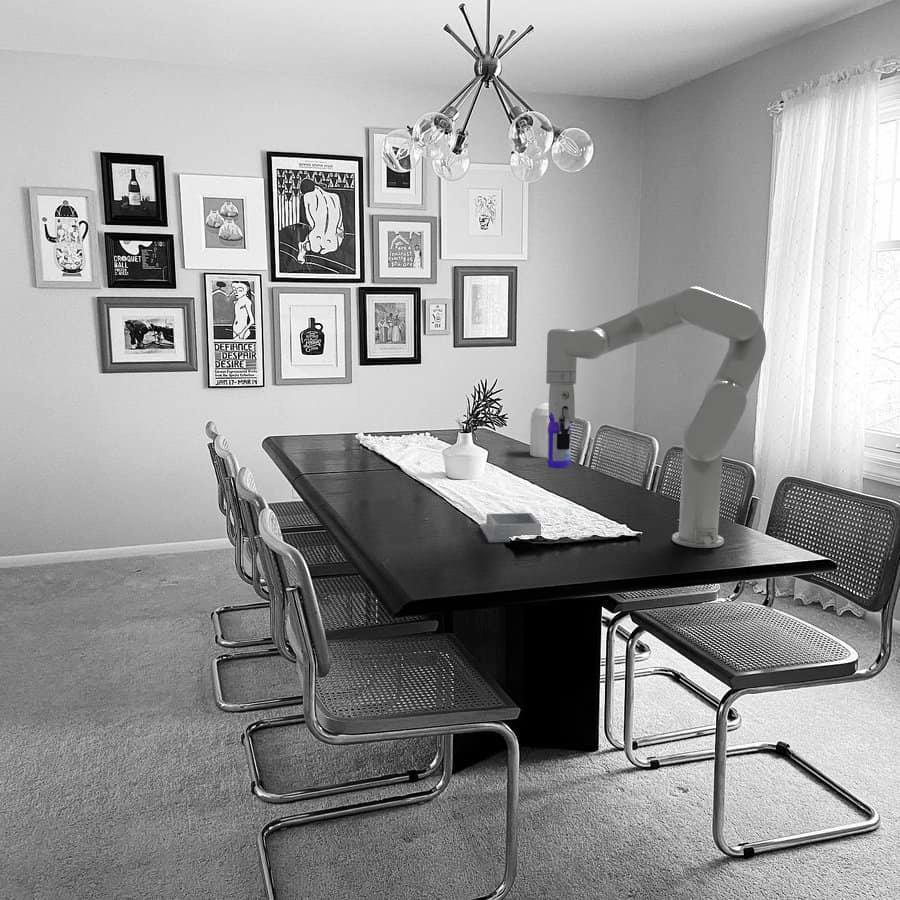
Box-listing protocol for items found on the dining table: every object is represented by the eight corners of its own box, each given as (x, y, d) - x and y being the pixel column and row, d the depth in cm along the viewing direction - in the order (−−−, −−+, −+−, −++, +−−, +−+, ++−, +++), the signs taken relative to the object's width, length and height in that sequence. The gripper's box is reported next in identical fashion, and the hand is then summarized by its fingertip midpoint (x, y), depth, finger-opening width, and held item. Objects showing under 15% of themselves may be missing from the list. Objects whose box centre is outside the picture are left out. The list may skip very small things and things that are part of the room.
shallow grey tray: (547, 540, 233) (548, 525, 232) (489, 542, 231) (489, 526, 230) (535, 525, 248) (535, 511, 247) (479, 527, 246) (480, 512, 245)
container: (525, 451, 359) (526, 400, 356) (558, 451, 362) (560, 400, 358) (535, 458, 346) (536, 405, 343) (569, 457, 349) (571, 404, 345)
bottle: (565, 470, 234) (567, 401, 231) (544, 468, 236) (545, 400, 233) (573, 465, 241) (574, 398, 238) (552, 463, 243) (553, 397, 240)
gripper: (584, 381, 227) (582, 452, 230) (567, 374, 244) (565, 441, 247) (554, 381, 226) (552, 452, 229) (539, 374, 243) (537, 441, 246)
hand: (559, 446), depth 238 cm, fingers closed on bottle, 7 cm apart
